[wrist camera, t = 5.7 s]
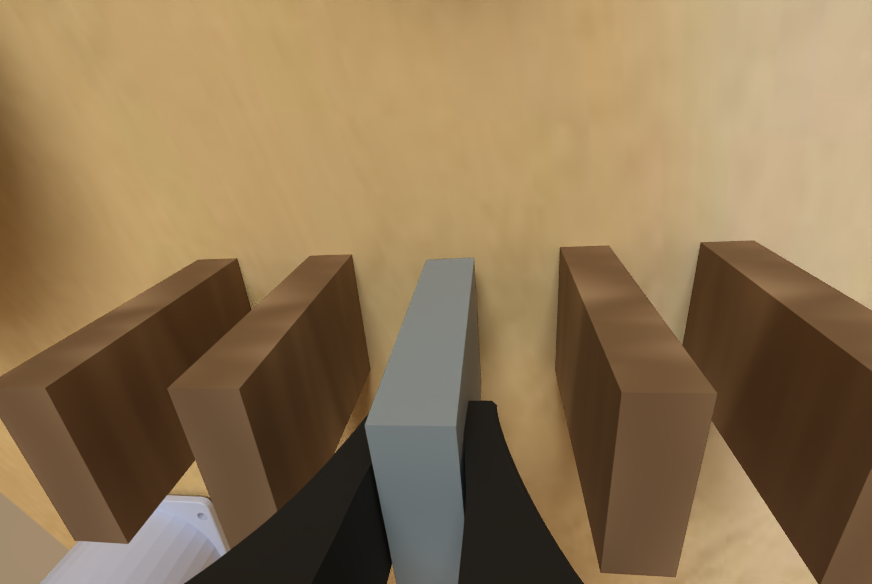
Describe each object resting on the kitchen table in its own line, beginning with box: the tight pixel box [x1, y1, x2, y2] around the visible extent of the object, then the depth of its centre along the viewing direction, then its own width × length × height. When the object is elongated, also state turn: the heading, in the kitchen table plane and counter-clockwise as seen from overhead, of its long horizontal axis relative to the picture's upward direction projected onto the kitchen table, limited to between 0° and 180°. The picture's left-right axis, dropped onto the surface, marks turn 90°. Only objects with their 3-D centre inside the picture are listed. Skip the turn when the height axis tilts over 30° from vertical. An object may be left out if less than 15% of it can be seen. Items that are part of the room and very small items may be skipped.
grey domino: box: [365, 258, 481, 584], centre depth 12 cm, size 2×5×8 cm, turn 5°
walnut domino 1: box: [0, 259, 251, 544], centre depth 14 cm, size 2×5×8 cm, turn 5°
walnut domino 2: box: [167, 255, 370, 549], centre depth 14 cm, size 2×5×8 cm, turn 4°
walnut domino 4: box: [683, 241, 872, 584], centre depth 12 cm, size 2×5×8 cm, turn 4°
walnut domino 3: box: [555, 246, 717, 577], centre depth 13 cm, size 2×5×8 cm, turn 4°
